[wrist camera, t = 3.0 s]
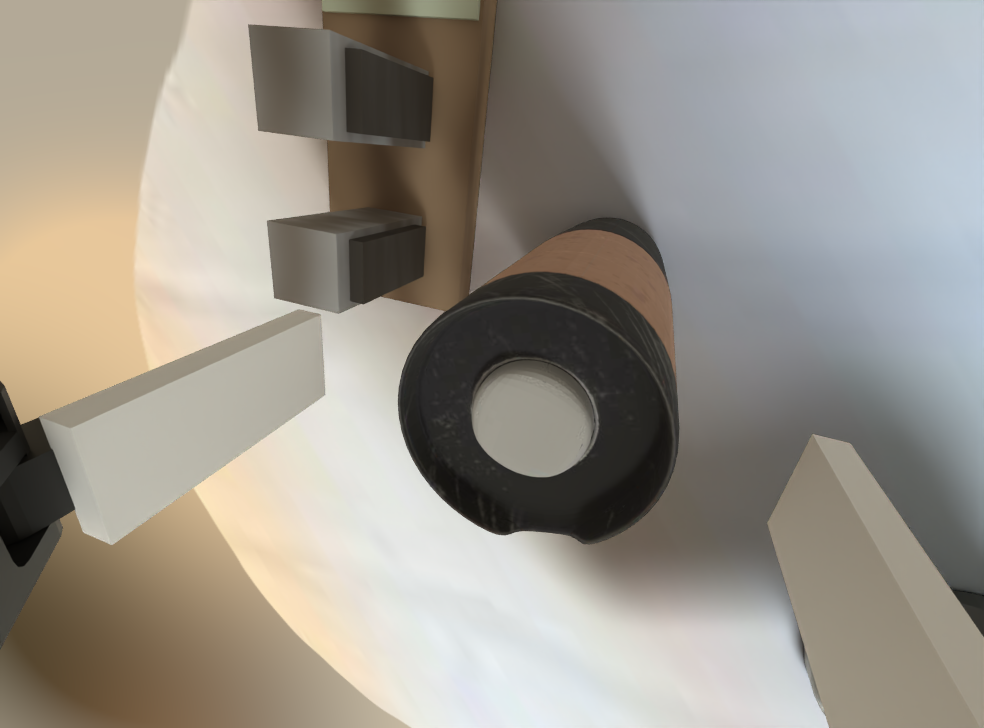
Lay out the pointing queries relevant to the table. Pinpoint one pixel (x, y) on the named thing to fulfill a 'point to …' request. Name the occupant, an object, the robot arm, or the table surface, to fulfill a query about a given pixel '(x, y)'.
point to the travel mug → (551, 389)
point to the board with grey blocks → (381, 147)
